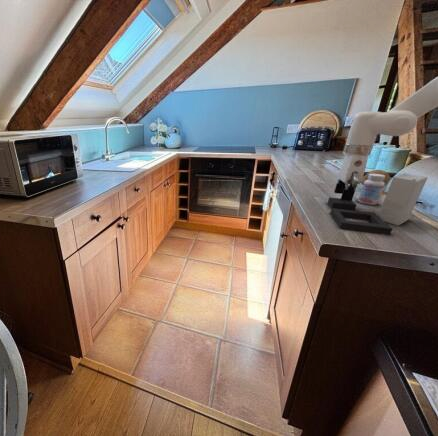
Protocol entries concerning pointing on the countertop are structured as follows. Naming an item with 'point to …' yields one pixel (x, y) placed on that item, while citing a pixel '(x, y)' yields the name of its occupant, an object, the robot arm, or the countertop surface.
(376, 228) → the frame
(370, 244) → the countertop surface
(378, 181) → the pill bottle
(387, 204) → the cosmetic box
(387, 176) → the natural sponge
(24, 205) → the countertop surface
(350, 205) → the black pad
